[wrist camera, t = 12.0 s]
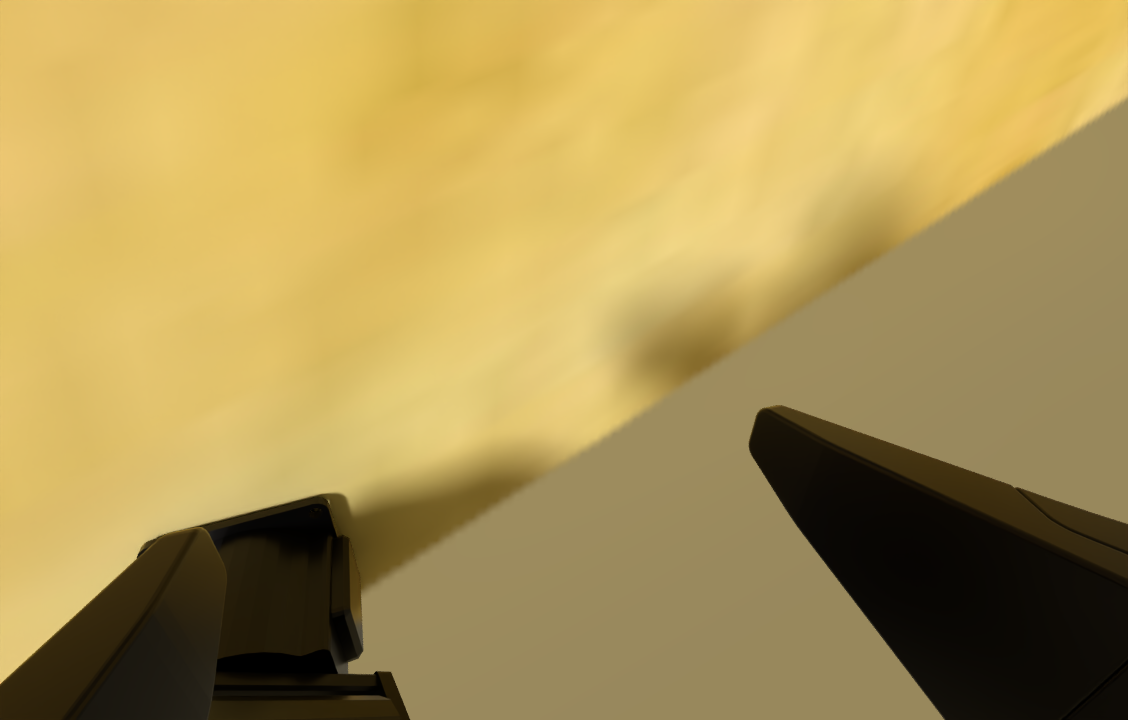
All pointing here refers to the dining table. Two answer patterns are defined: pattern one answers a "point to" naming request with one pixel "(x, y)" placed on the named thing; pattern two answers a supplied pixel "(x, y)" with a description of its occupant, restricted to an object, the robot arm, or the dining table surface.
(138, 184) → the dining table surface
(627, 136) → the dining table surface
